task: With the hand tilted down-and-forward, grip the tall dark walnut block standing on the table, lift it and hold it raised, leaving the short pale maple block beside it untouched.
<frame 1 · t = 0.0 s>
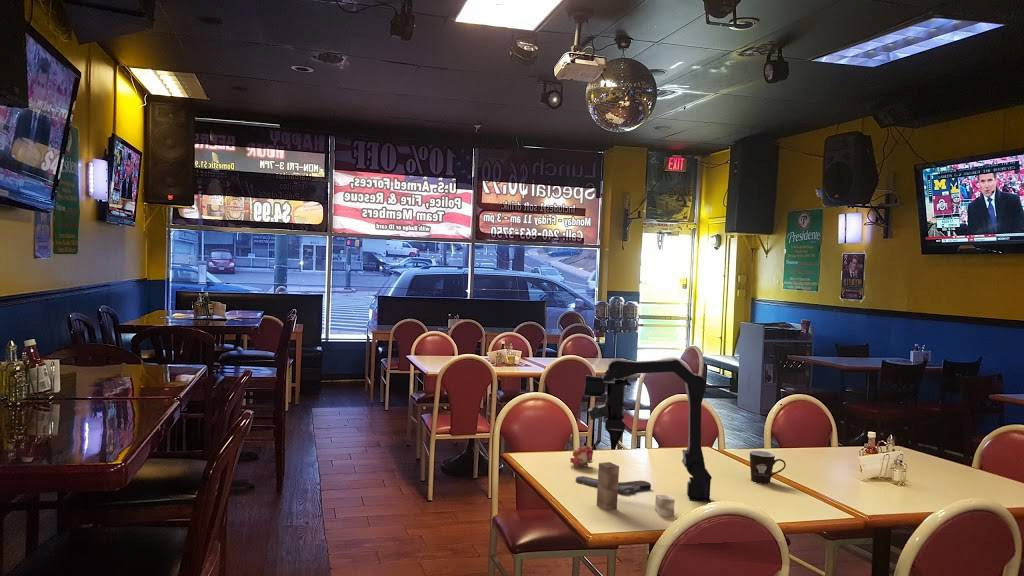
hand: (612, 446, 237), 15 cm above the table, tool pointing down, fingers open, 9 cm apart
flower: (580, 467, 267), on the table
coffee mug: (764, 483, 259), on the table
handgun: (613, 487, 245), on the table
maple block: (664, 513, 217), on the table
walnut block: (606, 507, 220), on the table
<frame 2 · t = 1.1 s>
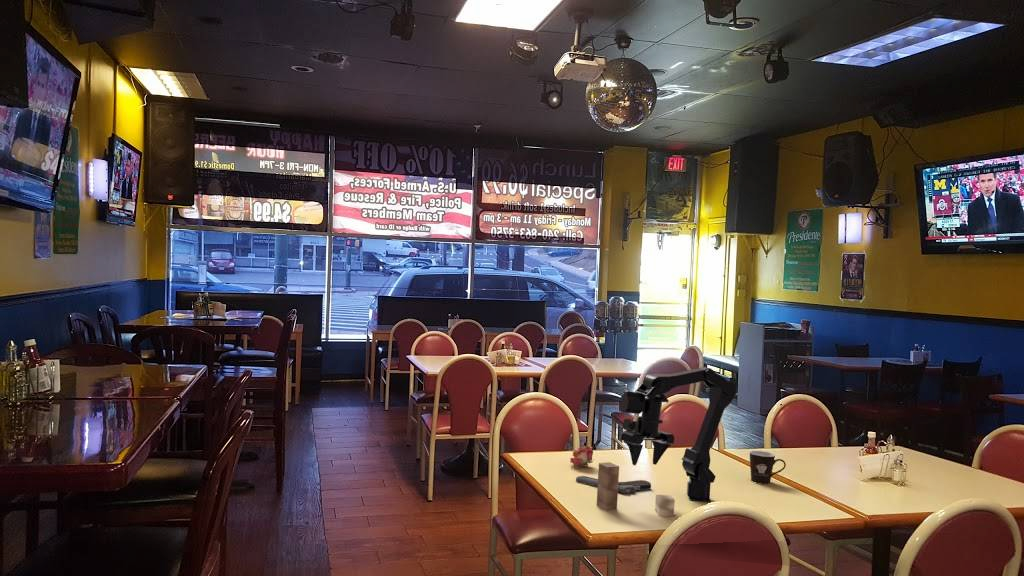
hand: (644, 464, 228), 12 cm above the table, tool pointing down, fingers open, 9 cm apart
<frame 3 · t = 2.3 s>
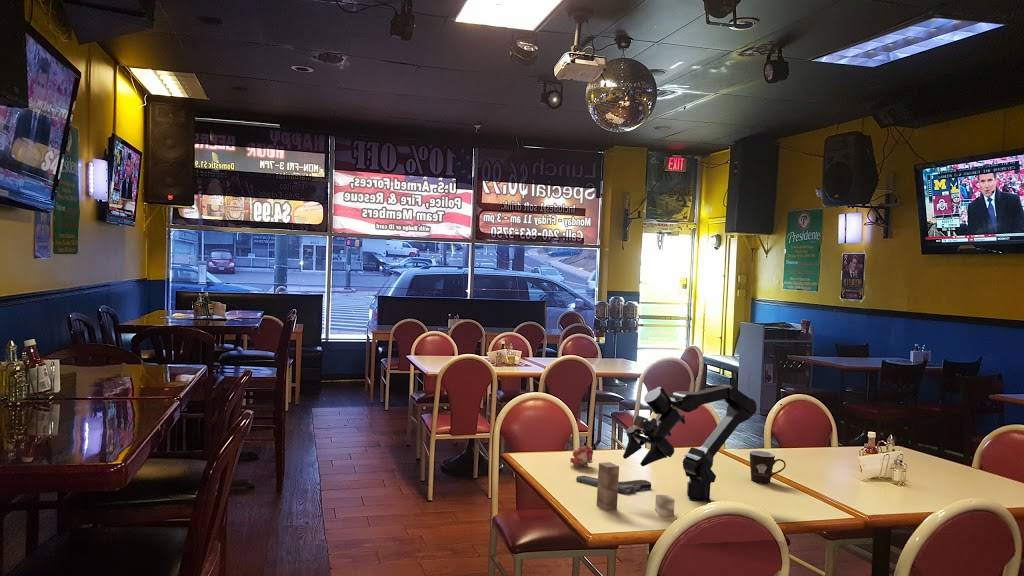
hand: (632, 461, 223), 13 cm above the table, tool tilted 45°, fingers open, 9 cm apart
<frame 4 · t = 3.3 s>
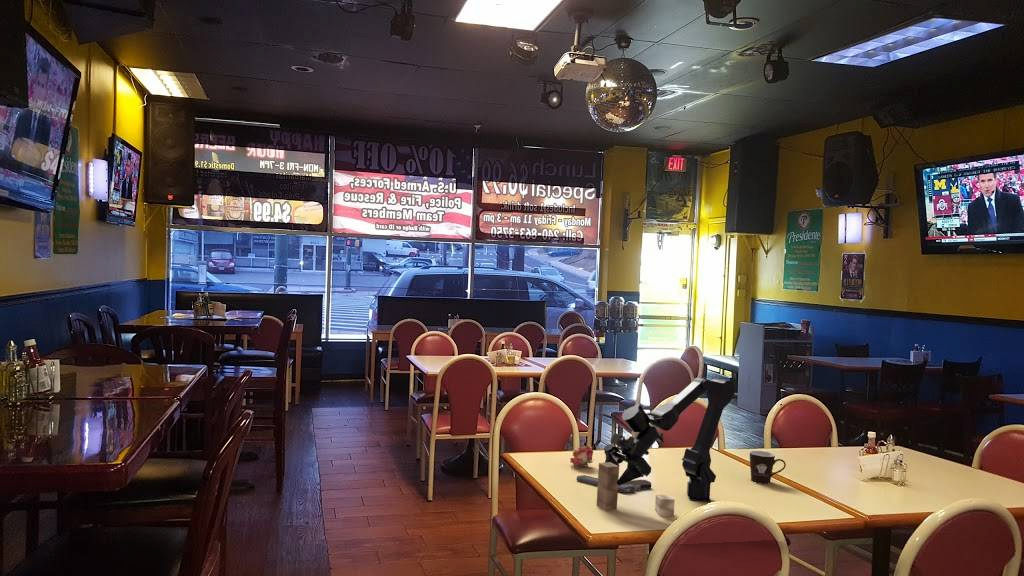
hand: (609, 480, 220), 8 cm above the table, tool tilted 45°, fingers open, 9 cm apart
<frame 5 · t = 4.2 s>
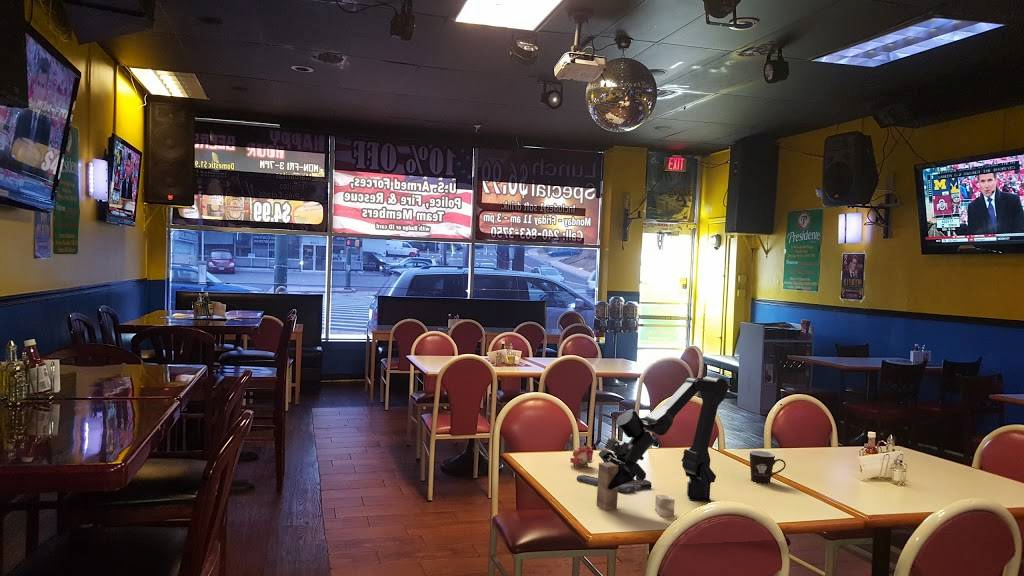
hand: (603, 486, 219), 7 cm above the table, tool tilted 45°, fingers closed on walnut block, 5 cm apart
walnut block: (606, 507, 220), on the table, touching gripper
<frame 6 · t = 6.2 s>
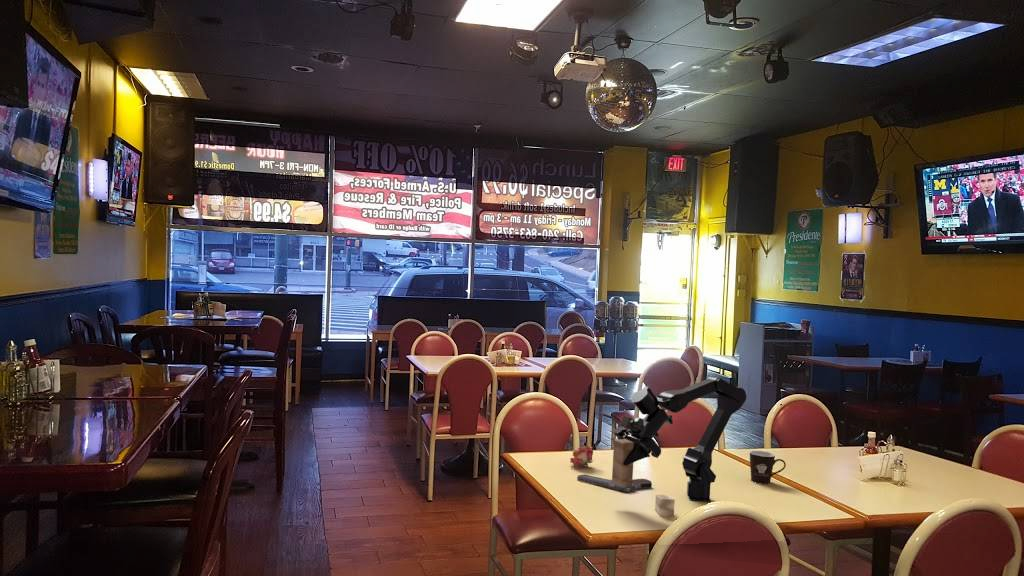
hand: (619, 462, 221), 13 cm above the table, tool tilted 45°, fingers closed on walnut block, 5 cm apart
walnut block: (621, 483, 222), point 7 cm above the table, touching gripper
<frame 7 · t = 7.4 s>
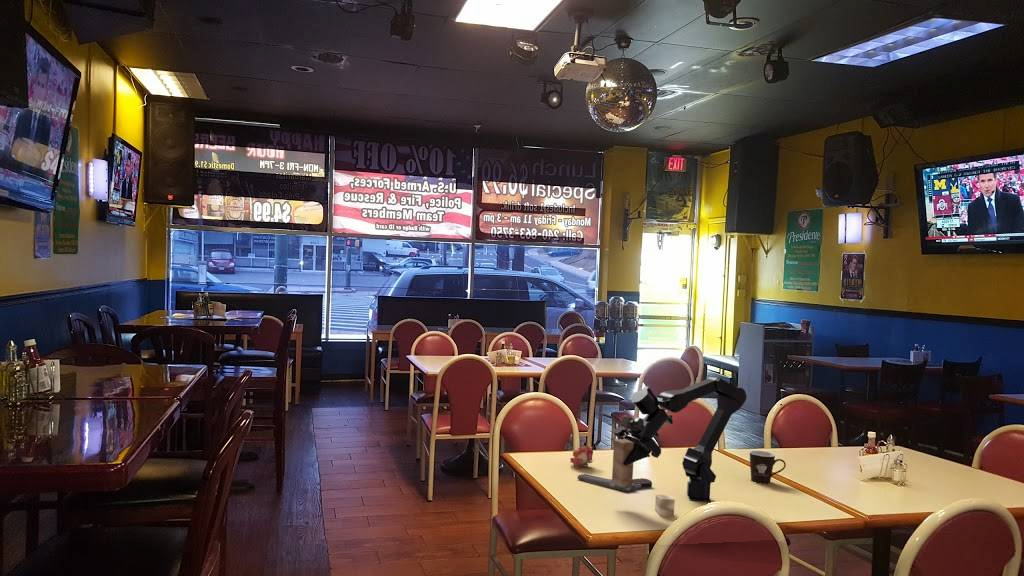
hand: (619, 462, 221), 13 cm above the table, tool tilted 45°, fingers closed on walnut block, 5 cm apart
walnut block: (621, 483, 222), point 7 cm above the table, touching gripper
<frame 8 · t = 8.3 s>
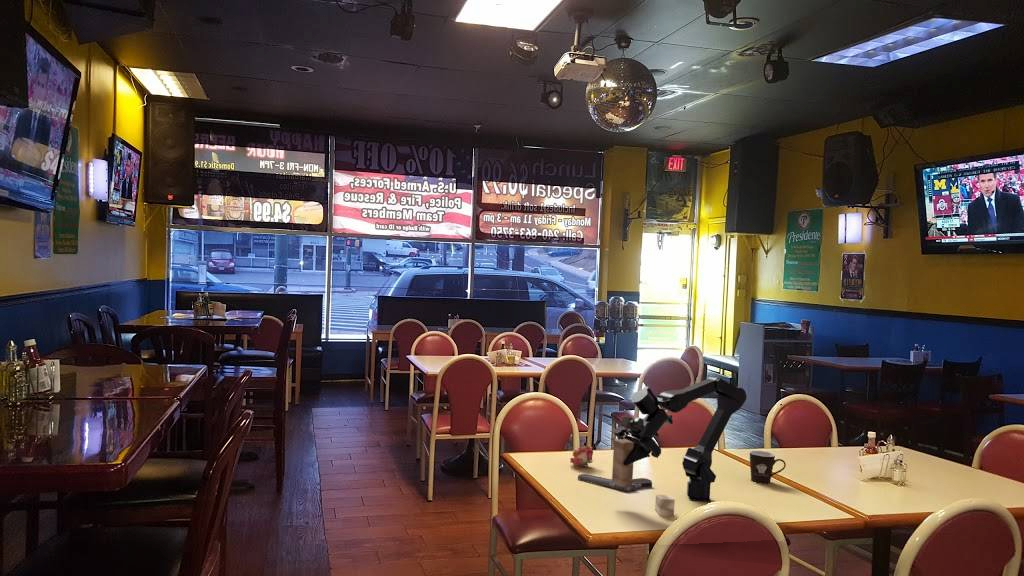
hand: (619, 462, 221), 13 cm above the table, tool tilted 45°, fingers closed on walnut block, 5 cm apart
walnut block: (621, 483, 222), point 7 cm above the table, touching gripper
at the end: the gripper is holding walnut block; walnut block point 6.8 cm above the table; maple block moved 0.1 cm from its start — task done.
